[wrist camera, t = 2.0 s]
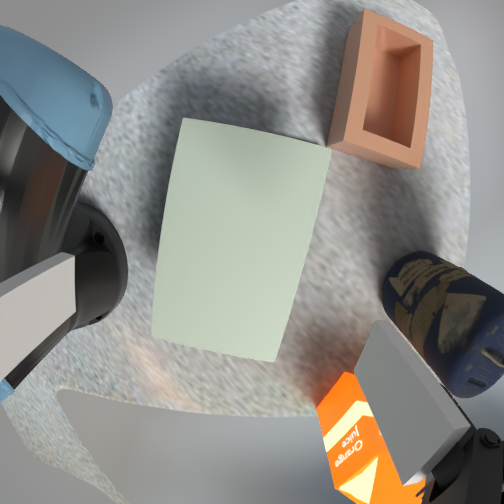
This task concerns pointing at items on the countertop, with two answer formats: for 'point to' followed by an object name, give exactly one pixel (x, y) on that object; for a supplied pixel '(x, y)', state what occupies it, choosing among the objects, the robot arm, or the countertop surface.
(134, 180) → the countertop surface
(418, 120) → the dish
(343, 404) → the orange juice
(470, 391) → the canister
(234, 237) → the board
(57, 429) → the countertop surface
